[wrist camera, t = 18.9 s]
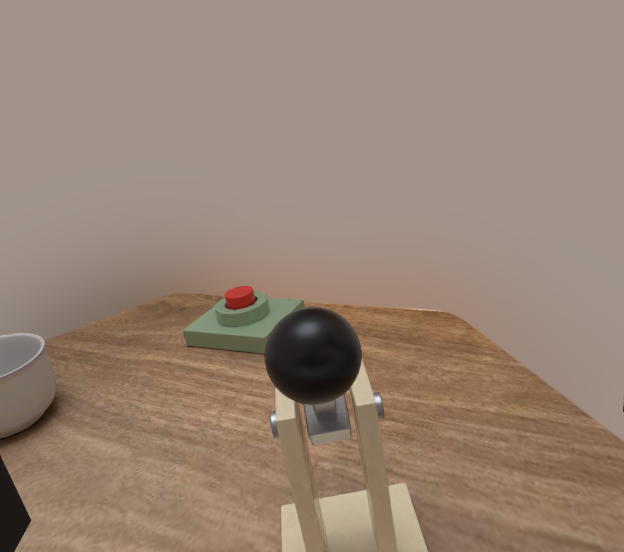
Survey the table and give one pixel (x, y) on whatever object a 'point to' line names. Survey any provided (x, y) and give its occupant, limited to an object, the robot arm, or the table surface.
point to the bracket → (352, 506)
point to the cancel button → (240, 297)
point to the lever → (316, 368)
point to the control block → (240, 324)
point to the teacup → (24, 382)
